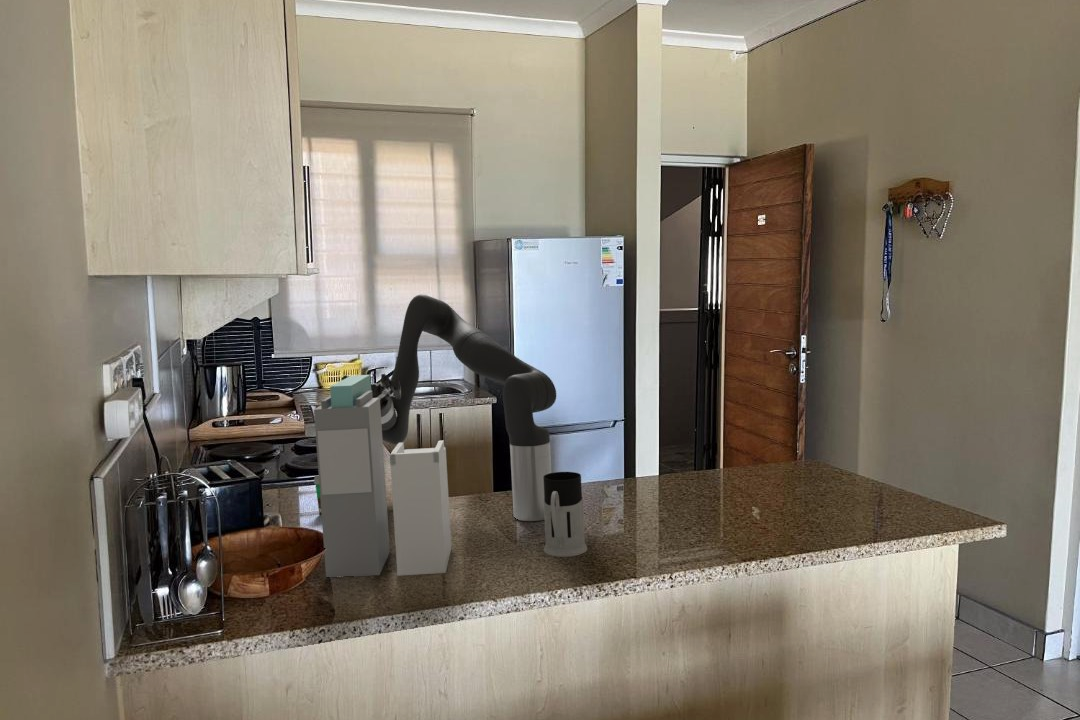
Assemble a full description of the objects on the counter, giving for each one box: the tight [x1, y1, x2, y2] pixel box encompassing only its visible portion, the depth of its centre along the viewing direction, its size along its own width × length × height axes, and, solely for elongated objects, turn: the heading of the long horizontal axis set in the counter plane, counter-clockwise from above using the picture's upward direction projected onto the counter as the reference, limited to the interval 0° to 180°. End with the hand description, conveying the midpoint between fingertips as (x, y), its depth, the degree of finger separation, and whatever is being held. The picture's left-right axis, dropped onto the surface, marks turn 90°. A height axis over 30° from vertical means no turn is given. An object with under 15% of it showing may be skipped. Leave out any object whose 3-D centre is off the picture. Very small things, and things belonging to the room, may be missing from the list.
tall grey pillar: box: [313, 391, 391, 578], centre depth 157 cm, size 10×13×34 cm
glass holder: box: [543, 471, 588, 558], centre depth 159 cm, size 9×14×15 cm, turn 167°
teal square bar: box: [329, 374, 372, 408], centre depth 160 cm, size 4×20×4 cm, turn 2°
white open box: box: [389, 439, 452, 577], centre depth 158 cm, size 9×15×23 cm, turn 2°
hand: (363, 378), depth 182 cm, fingers open, 8 cm apart
